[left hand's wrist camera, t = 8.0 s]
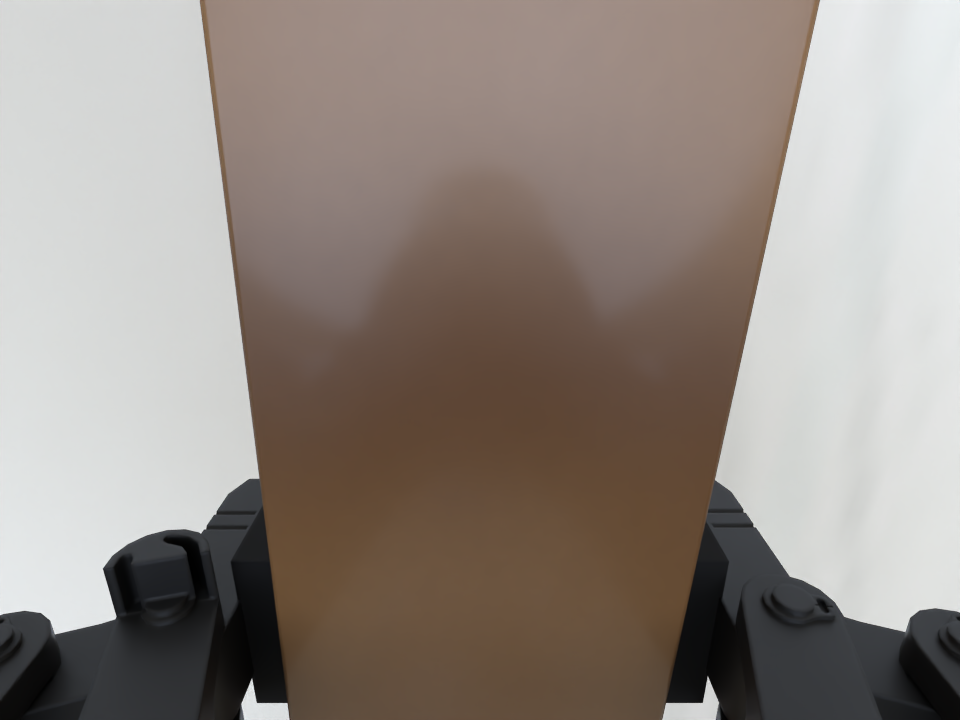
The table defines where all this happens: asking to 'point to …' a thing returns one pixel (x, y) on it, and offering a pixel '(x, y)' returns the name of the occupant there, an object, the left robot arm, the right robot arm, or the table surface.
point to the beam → (494, 330)
